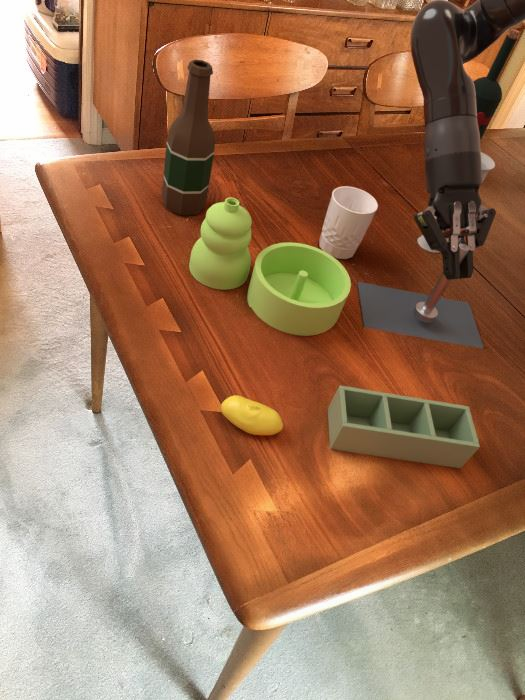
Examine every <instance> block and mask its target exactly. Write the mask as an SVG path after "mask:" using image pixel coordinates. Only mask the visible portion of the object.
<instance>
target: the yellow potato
mask: <svg viewBox="0 0 525 700" xmlns="http://www.w3.org/2000/svg"><path fill="white" fill-rule="evenodd" d="M220 411H221V414H222V415H223V416H224V417H225V418H226V419H227V420H228V421H229V422H230V423H231V424H232V425H234V426H235V427H237V428H238V429H240V430H242V431H243V432H245V433H247V434H249V435H254V436H273V435H276V434H278V433H280V432H281V431H282V430H283V428H284V424H283V419H282V418H281V416H280V414H279V413H278V412H277V411H276V410H274V409H273V408H271V407H269V406H268V405H265V404H263V403H261V402H258V401H254V400H251V399H249V398H246V397H245V396H241V395H237V394H236V395H234V394H233V395H230V396H228V397H226V398H225V399H224V400H223V402H221V404H220Z"/></svg>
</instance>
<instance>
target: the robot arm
mask: <svg viewBox="0 0 525 700" xmlns="http://www.w3.org/2000/svg"><path fill="white" fill-rule="evenodd" d="M523 22H525V0H475V2H473V3H472V4H471V5H470V6H468V7H466V8H464V9H463V8H461V7H460V6H458V5H456V4H454V3H453V2H451V1H449V0H432V1H429V2H427V3H426V4H424V5H423V6H422V7H421V8H420V10H418V12H417V13H416V16H415V17H414V19H413V22H412V25H411V30H410V37H409V40H410V41H409V45H410V53H411V58H412V62H413V63H412V64H413V67H414V70H415V74H416V78H417V82H418V85H419V88H420V90H421V93H422V98H423V117H424V118H423V121H424V123H423V124H424V137H423V151H424V152H423V153H424V170H425V184H426V185H425V186H426V192H427V193H428V194H429V199H428V202H427V207H426V208H425V209H423V210H422V211H420V212H416V213H415V214H414V215H413V219H414V221H415V223H416V226H417V227H418V229H419V231H420V233H421V234H422V235H423V236H424V238H425V240H426V242H427V243H428V245H429V247H430V249H431V250H437V251H440V252H439V253H440V254H441V257H442V273H444V276H446V279H447V280H458V279H459V280H461V279H471V278H472V277H473V274H474V270H475V269H474V267H475V266H474V251H475V250H476V249H477V248H479V247H483V246H484V245H485V243H486V241H487V237H488V235H489V233H490V230H491V227H492V224H493V222H494V220H495V217H496V214H497V211H496V209H495V208H487V207H486V206H485V205H483V204H482V199H481V196H480V194H479V189H480V188H479V187H481V186H482V184H483V182H482V169H481V152H482V151H481V140H480V133H479V128H478V123H477V108H476V92H475V86H474V82H473V81H474V80H473V78H472V77H471V76H470V75H469V74H468V73H467V71H466V70H465V67H464V65H465V64H466V63H469V62H471V61H472V60H474V59H476V58H477V57H478V56H480V55H481V54H482V53H483V52H485V51H487V49H489V47H491V46H492V45H493V44H494V43H495V42H497V41H498V40H499V39H500V38H501V37H503V35H504V34H505V33H507V32H508V31H509V30H511V28H512V29H513V28H514V27H516V26H517V25H520V24H521V23H523ZM460 243H463V244H466V245H467V246H468V247H469V251H468V252H467V254H466V256H465V257H464V259H463V261H462V262H461V264H460V266H459V253H456V251H457V250H458V245H459V244H460Z"/></svg>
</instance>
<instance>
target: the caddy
mask: <svg viewBox="0 0 525 700" xmlns="http://www.w3.org/2000/svg"><path fill="white" fill-rule="evenodd" d="M470 409H471V408H470V406H468V405H463V404H458V403H457V404H456V403H450V402H444V401H438V400H432V399H426V398H419V397H414V396H407V395H401V394H395V393H388V392H383V391H378V390H377V391H376V390H371V389H364V388H358V387H353V386H346V385H341V384H340V385H339V386H338V388H337V390H336V392H335V394H334V396H333V398H332V400H331V402H330V403H329V406H328V408H327V415H328V416H327V417H328V418H327V420H328V434H329V449H330V450H334V451H339V452H348V453H355V454H362V455H368V456H374V457H381V458H387V459H388V458H389V459H395V460H402V461H409V462H416V463H422V464H428V465H437V466H442V467H443V466H444V467H449V466H450V468H456V469H461V468H462V467H464V465H466V463H467V462H468V461H469V460H470V459H471V458H472V456H474V455H475V453H476V452H477V451H478V450H479V449H480V448H481V446H480V441H479V437H478V434H477V431H476V428H475V424H474V421H473V420H474V419H473V416H472V413H471V410H470Z"/></svg>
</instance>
